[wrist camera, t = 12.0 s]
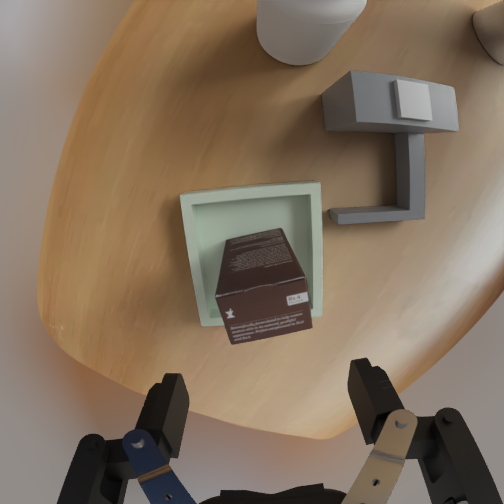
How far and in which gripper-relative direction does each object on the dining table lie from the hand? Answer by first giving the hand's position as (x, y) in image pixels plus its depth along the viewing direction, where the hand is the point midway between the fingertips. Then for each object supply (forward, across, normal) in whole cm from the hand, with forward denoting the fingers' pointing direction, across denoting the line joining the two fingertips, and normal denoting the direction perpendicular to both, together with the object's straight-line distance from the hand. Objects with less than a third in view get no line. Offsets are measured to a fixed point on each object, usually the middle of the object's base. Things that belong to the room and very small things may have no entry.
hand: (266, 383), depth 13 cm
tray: (+19, 0, 0) cm, 19 cm away
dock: (+19, -13, -9) cm, 25 cm away
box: (+18, 0, 0) cm, 19 cm away
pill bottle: (+19, -6, -23) cm, 31 cm away
